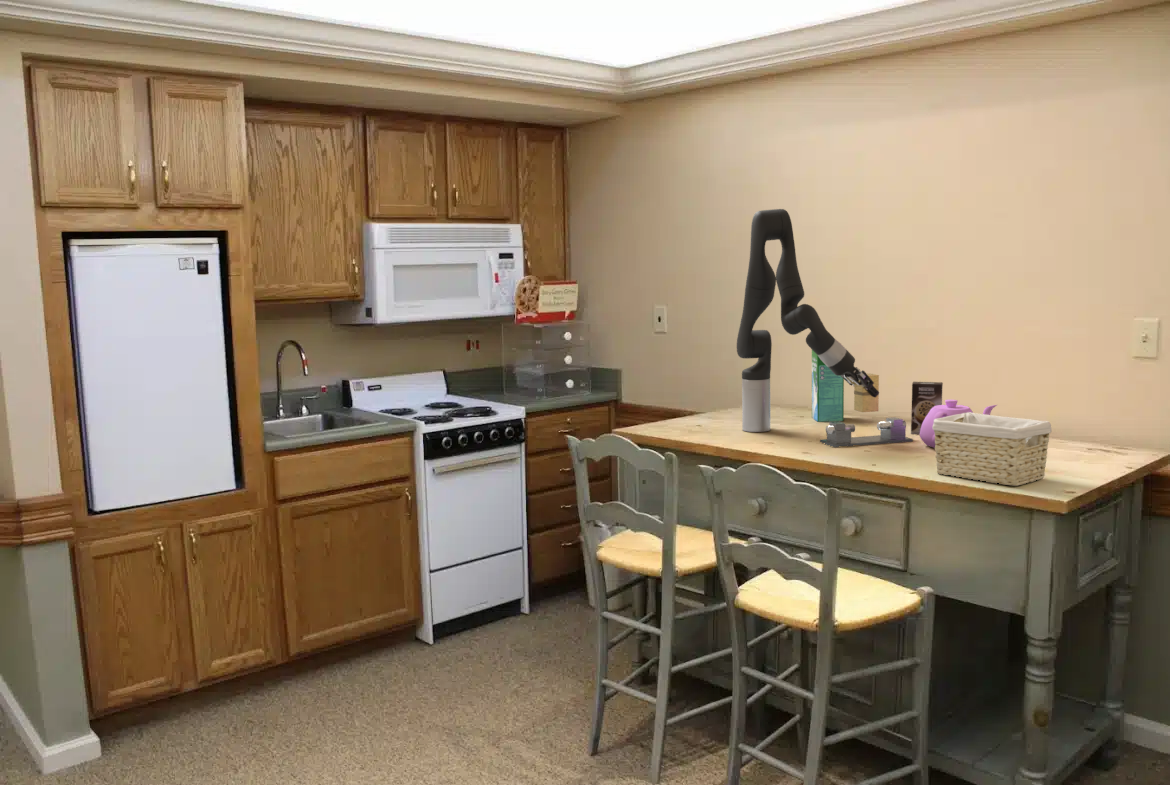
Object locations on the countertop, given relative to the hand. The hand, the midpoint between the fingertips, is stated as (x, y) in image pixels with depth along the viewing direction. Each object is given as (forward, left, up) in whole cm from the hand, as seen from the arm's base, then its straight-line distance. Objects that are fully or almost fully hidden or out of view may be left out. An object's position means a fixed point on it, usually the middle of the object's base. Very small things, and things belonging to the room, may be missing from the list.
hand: (871, 393), depth 290 cm
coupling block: (+1, -2, -5) cm, 5 cm away
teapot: (+11, +22, -15) cm, 29 cm away
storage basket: (+50, +17, -15) cm, 55 cm away
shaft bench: (0, -2, -15) cm, 15 cm away
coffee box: (-13, +20, -15) cm, 28 cm away
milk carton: (-43, -5, -15) cm, 45 cm away
